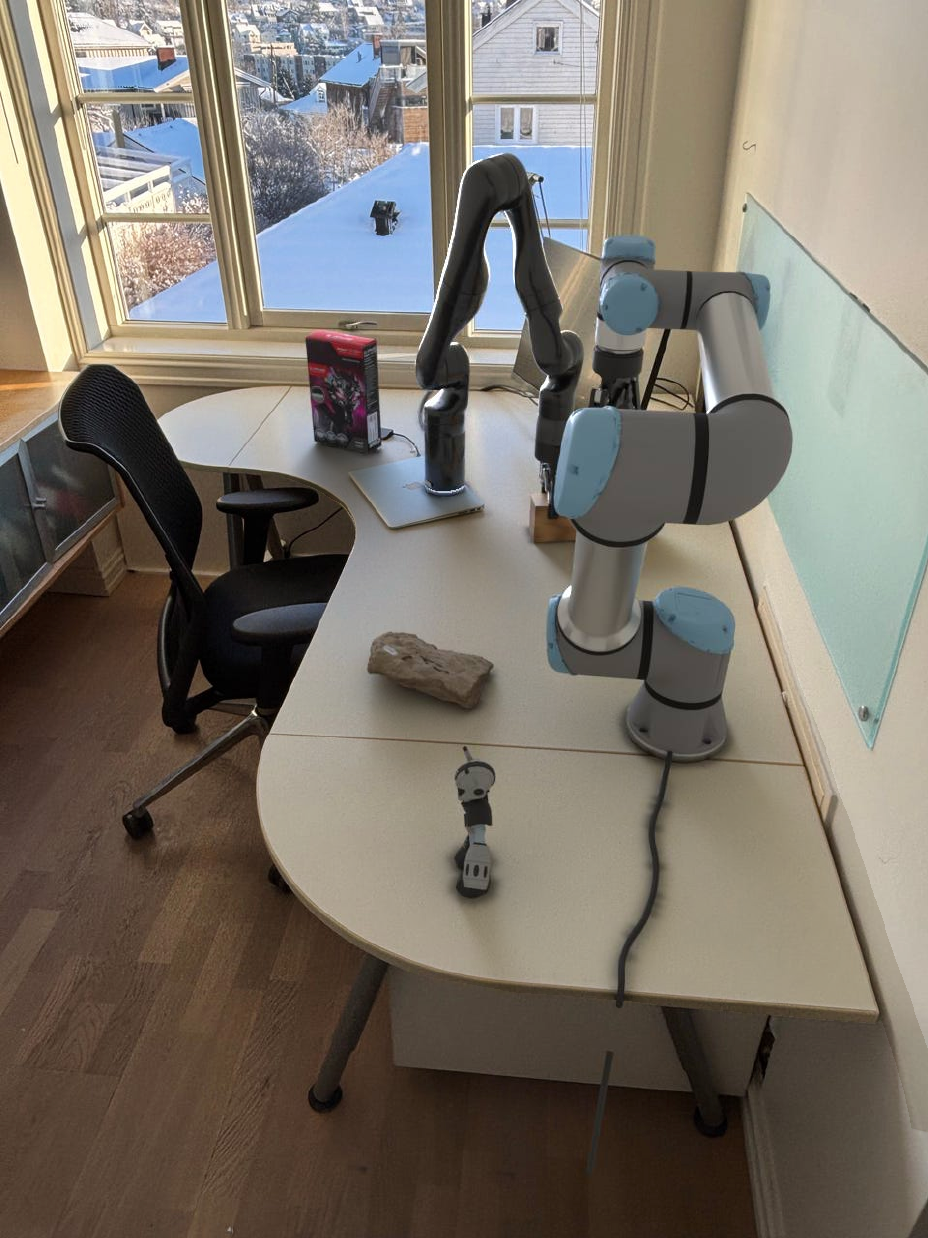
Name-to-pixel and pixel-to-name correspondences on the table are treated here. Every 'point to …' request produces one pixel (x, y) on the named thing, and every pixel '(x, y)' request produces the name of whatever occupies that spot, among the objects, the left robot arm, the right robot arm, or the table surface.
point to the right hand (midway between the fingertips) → (605, 475)
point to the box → (548, 522)
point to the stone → (429, 668)
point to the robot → (474, 825)
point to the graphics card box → (344, 390)
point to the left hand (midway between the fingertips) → (549, 509)
